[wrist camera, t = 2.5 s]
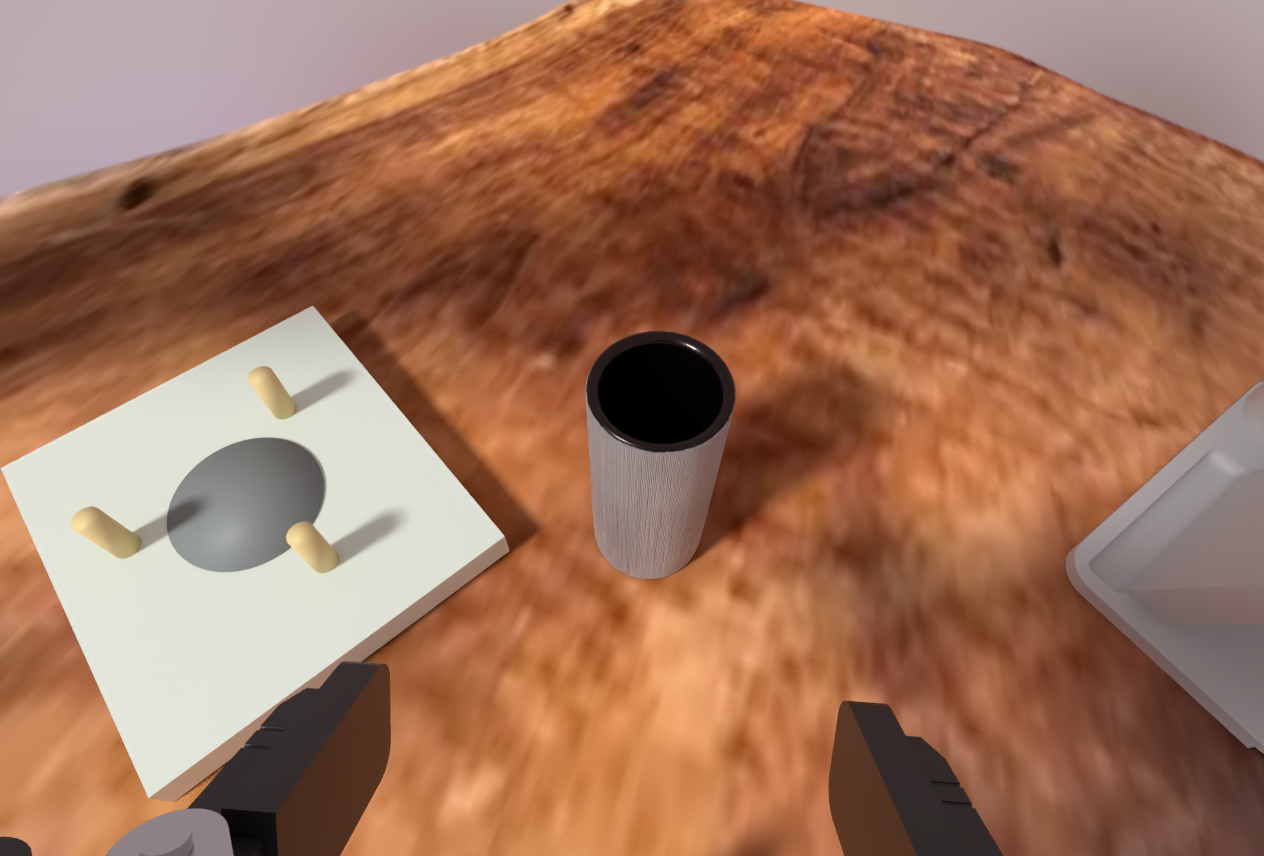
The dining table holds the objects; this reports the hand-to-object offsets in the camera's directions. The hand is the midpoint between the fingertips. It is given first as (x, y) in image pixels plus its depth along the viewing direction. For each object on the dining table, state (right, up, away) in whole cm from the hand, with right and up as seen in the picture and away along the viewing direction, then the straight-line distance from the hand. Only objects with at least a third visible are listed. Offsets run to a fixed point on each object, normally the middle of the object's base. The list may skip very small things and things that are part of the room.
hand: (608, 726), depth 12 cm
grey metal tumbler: (+1, +1, +17) cm, 17 cm away
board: (-15, +1, +17) cm, 23 cm away
